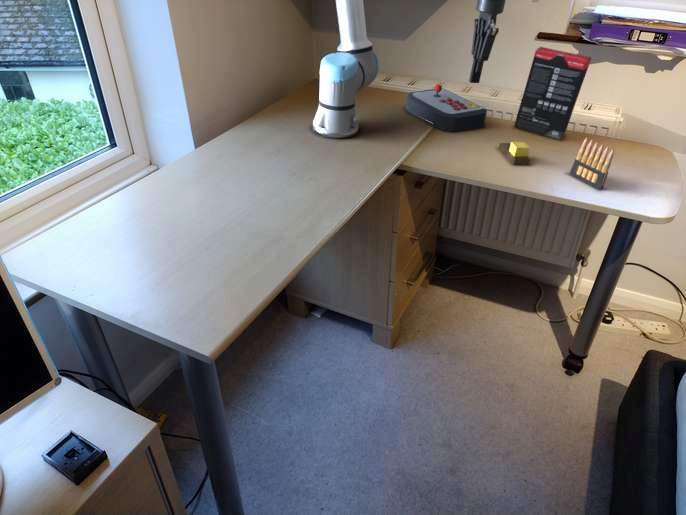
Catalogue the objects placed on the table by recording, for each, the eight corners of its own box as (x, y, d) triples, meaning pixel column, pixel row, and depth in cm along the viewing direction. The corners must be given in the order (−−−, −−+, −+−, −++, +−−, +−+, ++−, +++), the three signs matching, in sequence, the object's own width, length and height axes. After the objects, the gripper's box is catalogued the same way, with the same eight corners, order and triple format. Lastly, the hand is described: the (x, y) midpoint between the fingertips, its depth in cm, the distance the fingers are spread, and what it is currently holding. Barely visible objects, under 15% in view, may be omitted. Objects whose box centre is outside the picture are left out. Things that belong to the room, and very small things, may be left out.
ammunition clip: (602, 188, 147) (618, 150, 140) (598, 190, 146) (614, 151, 139) (572, 173, 154) (586, 135, 147) (568, 174, 153) (582, 136, 146)
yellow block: (508, 150, 160) (511, 141, 158) (521, 150, 161) (523, 142, 159) (514, 156, 157) (516, 147, 155) (526, 156, 157) (529, 147, 155)
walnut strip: (498, 148, 166) (500, 142, 165) (512, 148, 167) (514, 142, 165) (513, 165, 156) (515, 159, 155) (528, 164, 157) (530, 159, 156)
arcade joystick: (398, 107, 192) (401, 80, 186) (437, 101, 200) (442, 75, 194) (445, 134, 173) (451, 105, 167) (487, 126, 181) (494, 98, 175)
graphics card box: (565, 135, 179) (593, 55, 163) (561, 141, 174) (589, 59, 158) (518, 123, 186) (540, 45, 170) (512, 128, 181) (534, 48, 165)
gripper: (514, 1, 136) (493, 89, 150) (496, -8, 146) (478, 75, 160) (488, 0, 135) (469, 89, 149) (471, -9, 145) (455, 75, 159)
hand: (474, 82), depth 154 cm, fingers closed
